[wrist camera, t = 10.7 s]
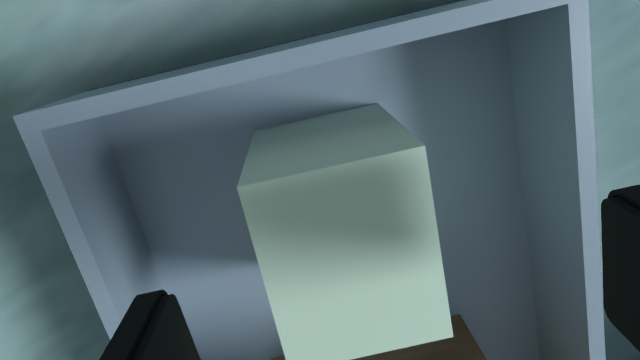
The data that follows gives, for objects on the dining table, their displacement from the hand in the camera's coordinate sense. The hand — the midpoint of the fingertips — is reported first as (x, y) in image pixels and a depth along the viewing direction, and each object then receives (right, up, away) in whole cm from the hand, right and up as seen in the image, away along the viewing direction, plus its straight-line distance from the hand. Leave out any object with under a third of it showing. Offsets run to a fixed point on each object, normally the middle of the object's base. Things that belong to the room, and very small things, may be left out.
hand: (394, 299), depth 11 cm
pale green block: (-1, +2, +10) cm, 10 cm away
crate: (0, -2, +12) cm, 12 cm away
